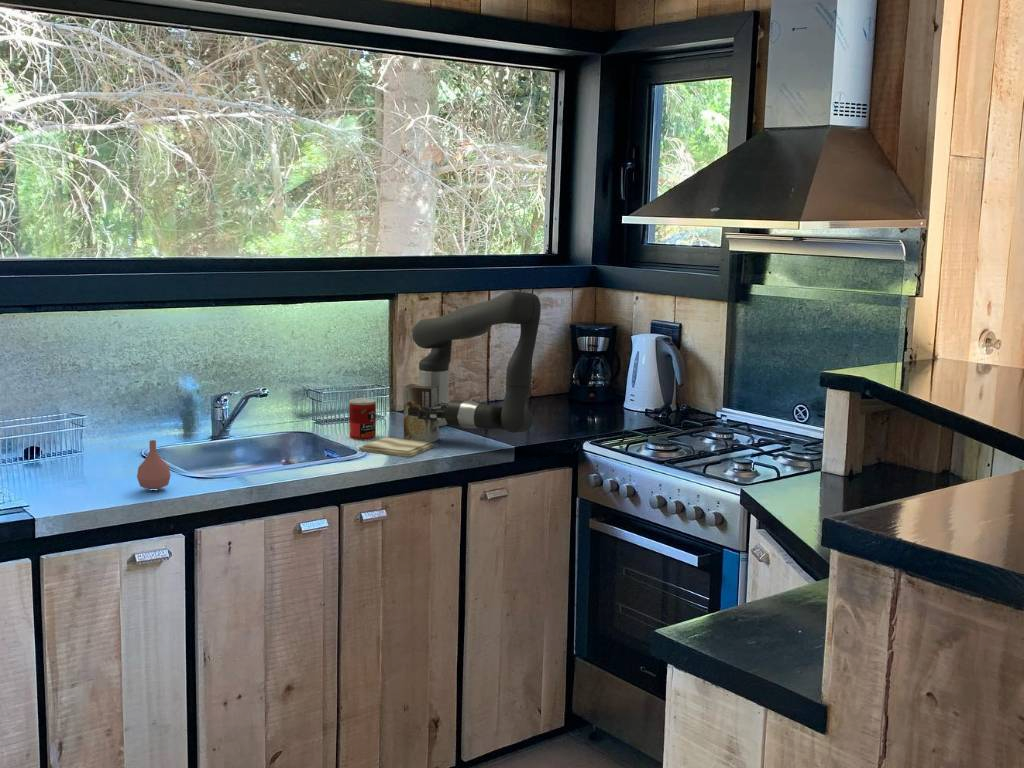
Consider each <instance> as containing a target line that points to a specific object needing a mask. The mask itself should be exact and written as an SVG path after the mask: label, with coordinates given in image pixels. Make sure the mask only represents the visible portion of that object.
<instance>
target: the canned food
mask: <svg viewBox="0 0 1024 768" xmlns="http://www.w3.org/2000/svg"><path fill="white" fill-rule="evenodd" d="M348 404H349V405H348V410H349V411H348V415H349V418H348V421H349V423H348V424H349V431H348V432H349V437H350V438H351V439H353V440H359V441H360V439H362V440H363V441H365V439H367V440H372V439H374V438H375V437H376V435H377V434H376V431H377V429H376V428H377V423H376V422H377V421H376V419H377V418H376V417H377V415H376V414H377V408H376V407H377V406H376V405H377V404H376V400H375V399H374V398H367V397H362V398H361V397H359V398H358V397H357V398H352V399H350V400H349V402H348Z"/></svg>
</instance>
